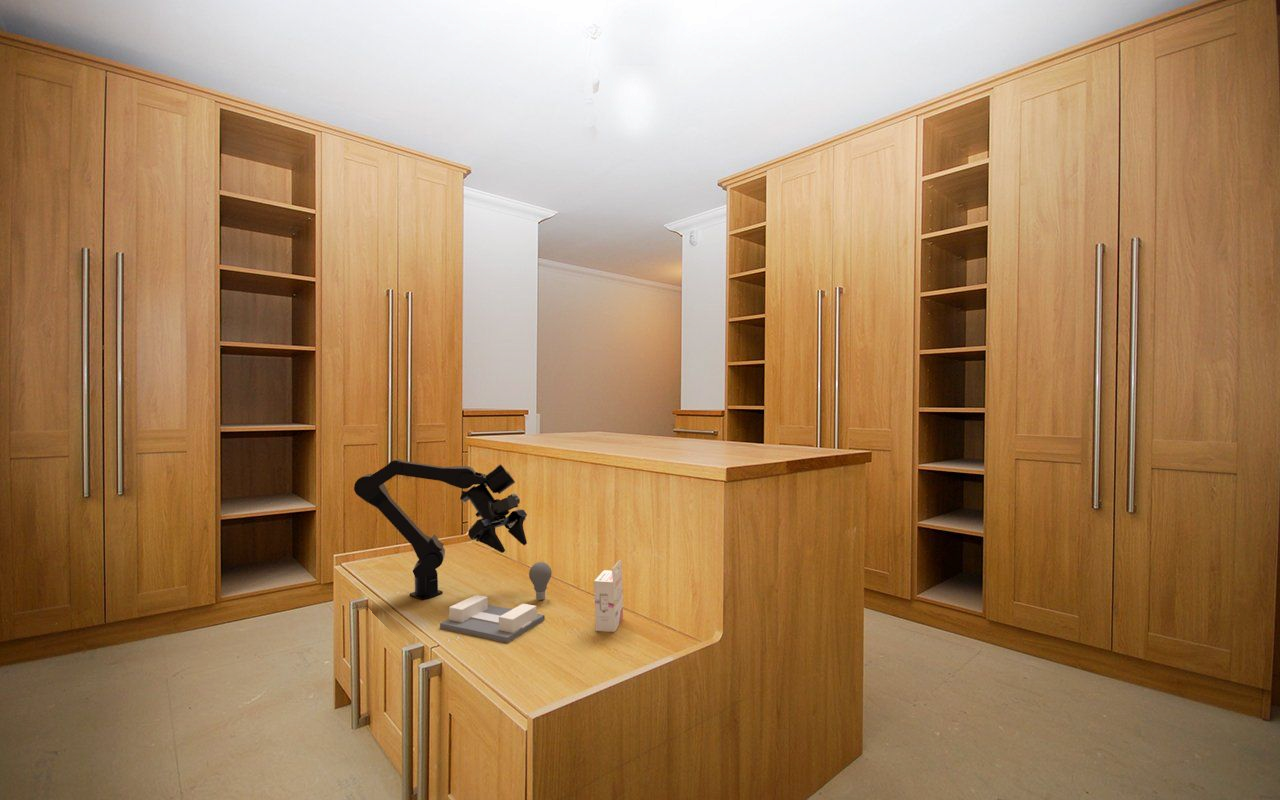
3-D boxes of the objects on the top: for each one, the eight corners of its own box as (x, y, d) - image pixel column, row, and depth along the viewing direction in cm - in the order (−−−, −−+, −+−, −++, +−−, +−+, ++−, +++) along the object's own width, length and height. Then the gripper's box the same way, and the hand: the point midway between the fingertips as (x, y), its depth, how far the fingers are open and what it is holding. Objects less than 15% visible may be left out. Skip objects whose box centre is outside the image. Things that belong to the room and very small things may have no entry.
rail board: (440, 628, 130) (439, 610, 130) (480, 607, 143) (480, 591, 143) (507, 643, 122) (507, 624, 122) (544, 619, 135) (544, 602, 135)
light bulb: (530, 596, 151) (530, 559, 151) (552, 595, 152) (552, 558, 152) (528, 604, 145) (527, 566, 145) (551, 603, 146) (550, 565, 146)
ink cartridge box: (603, 617, 136) (603, 557, 136) (623, 618, 135) (622, 558, 135) (594, 631, 128) (593, 567, 128) (614, 632, 127) (614, 568, 127)
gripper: (477, 489, 146) (509, 536, 141) (522, 481, 162) (552, 523, 157) (454, 516, 149) (485, 563, 144) (501, 505, 166) (529, 547, 161)
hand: (515, 548), depth 151 cm, fingers open, 9 cm apart
